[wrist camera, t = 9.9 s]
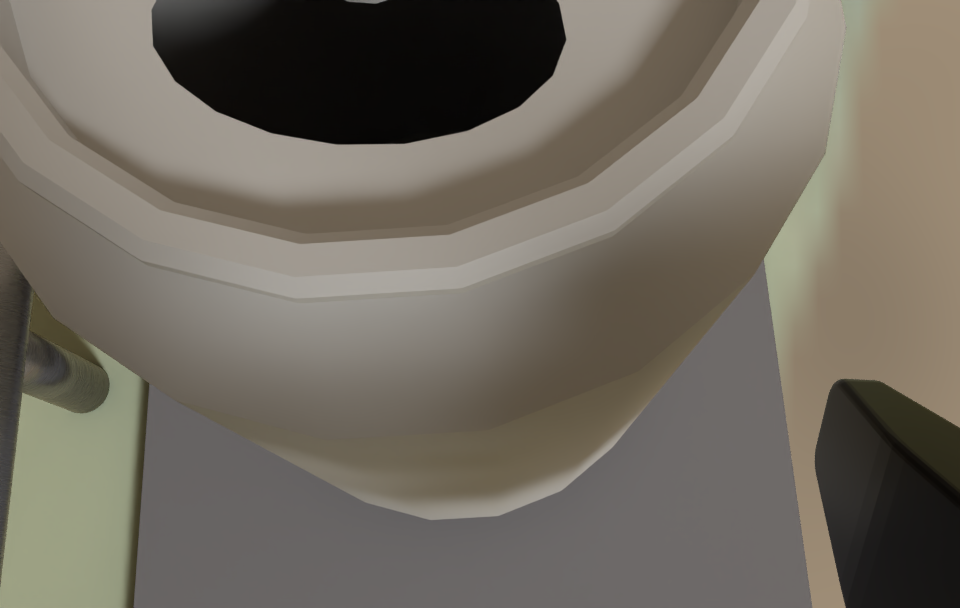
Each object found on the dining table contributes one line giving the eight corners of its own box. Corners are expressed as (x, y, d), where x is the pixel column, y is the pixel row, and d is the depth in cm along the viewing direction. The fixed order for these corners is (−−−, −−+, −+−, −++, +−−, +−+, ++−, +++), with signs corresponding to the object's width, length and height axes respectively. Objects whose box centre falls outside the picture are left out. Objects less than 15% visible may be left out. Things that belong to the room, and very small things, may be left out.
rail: (795, 965, 15) (900, 1107, 11) (-8, 990, 15) (-194, 1139, 11) (670, -71, 20) (709, -224, 17) (98, -40, 21) (2, -184, 17)
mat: (814, 690, 16) (824, 693, 15) (137, 715, 16) (125, 720, 16) (721, 5, 20) (726, -8, 19) (183, 34, 20) (175, 20, 20)
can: (231, 502, 16) (-391, 330, 5) (297, 136, 19) (-36, -569, 7) (641, 544, 16) (979, 461, 5) (659, 164, 18) (920, -536, 7)
